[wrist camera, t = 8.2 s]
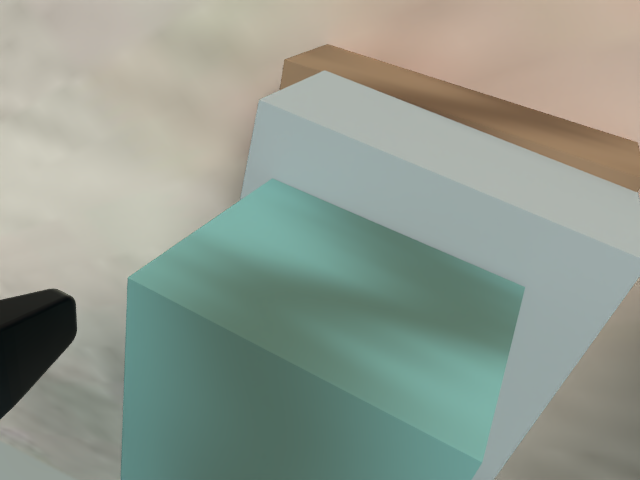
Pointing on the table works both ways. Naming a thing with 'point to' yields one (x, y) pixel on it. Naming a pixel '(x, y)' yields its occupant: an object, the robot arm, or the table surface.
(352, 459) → the teal cube
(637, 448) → the table surface
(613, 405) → the table surface
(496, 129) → the walnut base block
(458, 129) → the slate-grey top block
